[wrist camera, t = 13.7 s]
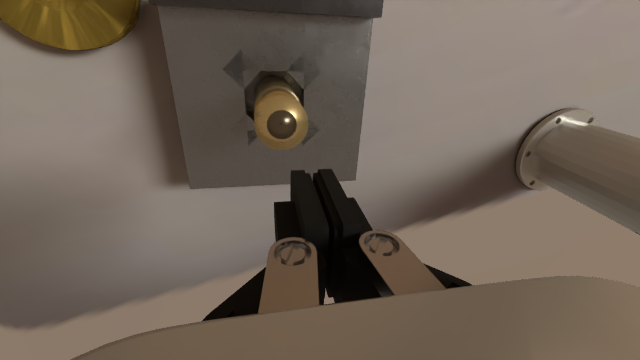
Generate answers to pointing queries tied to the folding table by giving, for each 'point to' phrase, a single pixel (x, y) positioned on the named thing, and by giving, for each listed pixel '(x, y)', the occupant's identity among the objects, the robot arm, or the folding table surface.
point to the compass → (71, 21)
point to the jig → (258, 64)
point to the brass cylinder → (278, 115)
